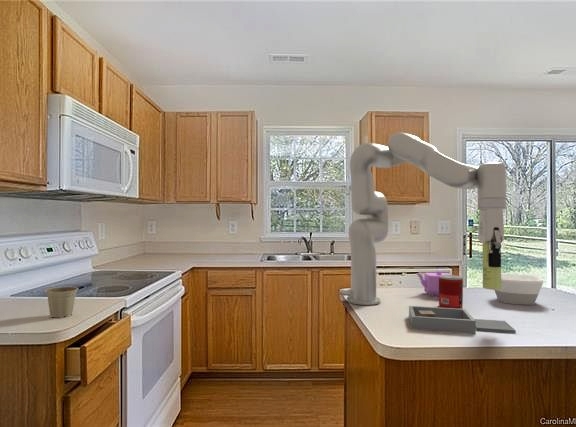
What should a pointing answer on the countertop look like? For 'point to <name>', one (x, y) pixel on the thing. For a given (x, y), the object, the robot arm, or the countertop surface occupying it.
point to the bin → (442, 319)
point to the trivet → (493, 326)
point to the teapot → (431, 282)
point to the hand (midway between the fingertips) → (491, 264)
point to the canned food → (450, 291)
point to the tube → (490, 271)
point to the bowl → (519, 289)
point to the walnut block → (426, 314)
